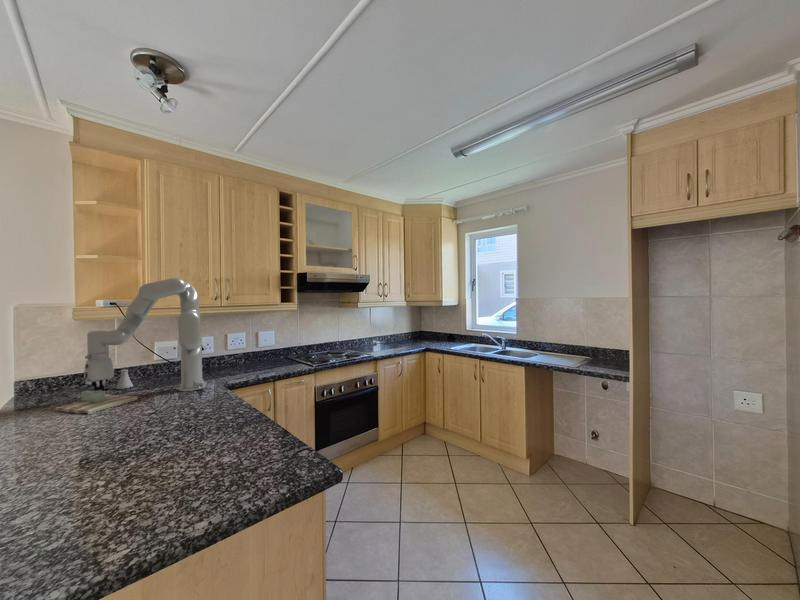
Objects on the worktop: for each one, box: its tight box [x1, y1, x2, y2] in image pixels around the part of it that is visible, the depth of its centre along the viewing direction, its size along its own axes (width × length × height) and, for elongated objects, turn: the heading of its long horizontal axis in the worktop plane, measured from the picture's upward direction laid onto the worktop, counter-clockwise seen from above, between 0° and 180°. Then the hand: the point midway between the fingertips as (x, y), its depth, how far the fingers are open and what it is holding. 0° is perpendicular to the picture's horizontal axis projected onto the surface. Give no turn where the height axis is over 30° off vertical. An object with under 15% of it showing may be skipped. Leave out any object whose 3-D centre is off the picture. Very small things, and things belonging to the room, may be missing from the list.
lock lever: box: [80, 390, 106, 403], centre depth 150 cm, size 13×5×5 cm, turn 75°
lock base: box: [55, 394, 139, 415], centre depth 149 cm, size 20×20×2 cm
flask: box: [115, 368, 134, 390], centre depth 180 cm, size 7×7×10 cm
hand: (99, 394), depth 157 cm, fingers closed
